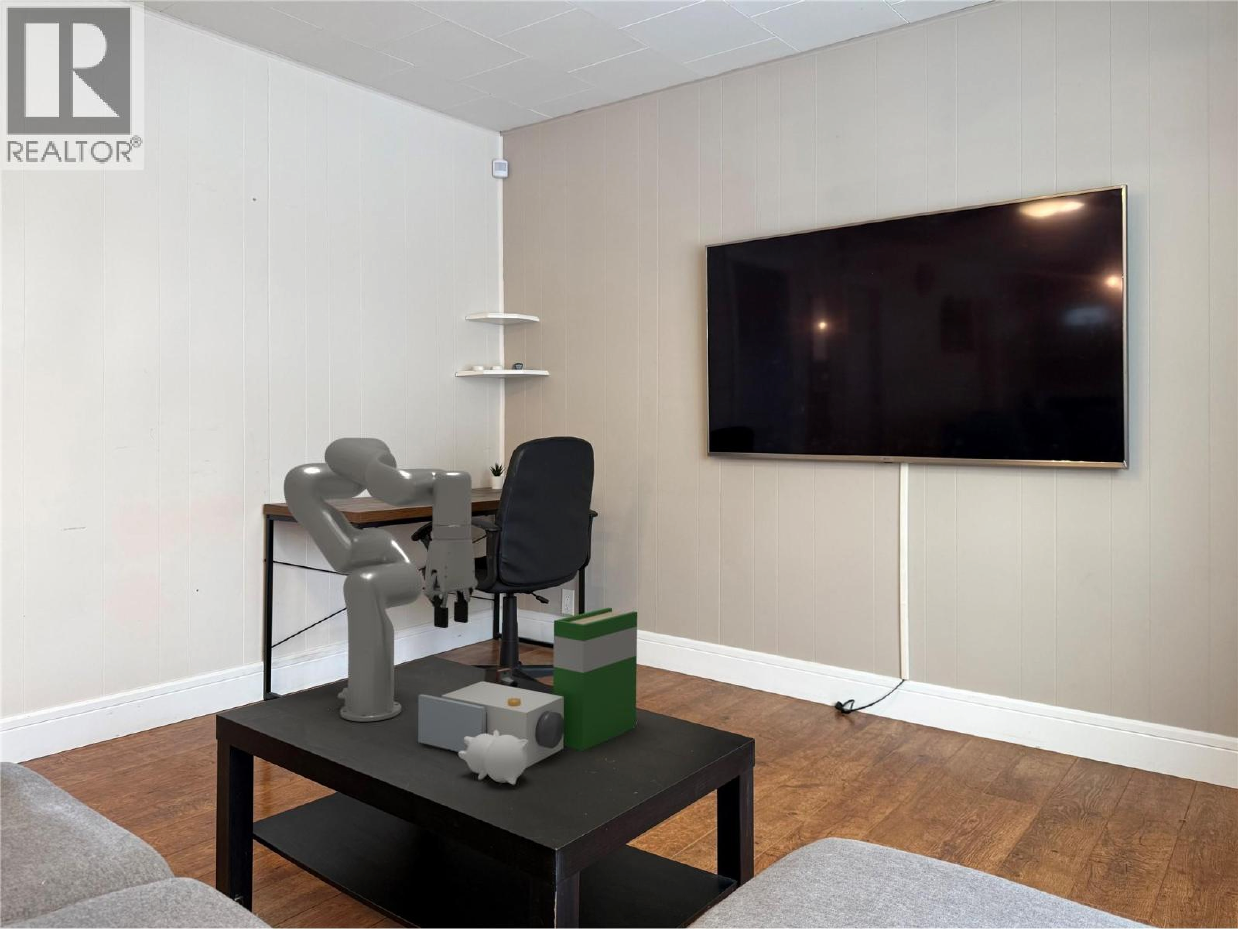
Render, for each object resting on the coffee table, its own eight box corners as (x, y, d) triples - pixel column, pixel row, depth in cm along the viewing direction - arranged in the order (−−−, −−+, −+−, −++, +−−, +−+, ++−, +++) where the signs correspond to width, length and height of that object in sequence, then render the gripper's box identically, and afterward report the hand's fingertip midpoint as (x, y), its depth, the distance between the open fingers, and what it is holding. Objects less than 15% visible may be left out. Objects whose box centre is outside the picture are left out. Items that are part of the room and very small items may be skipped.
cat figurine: (466, 719, 156) (518, 730, 150) (500, 737, 164) (551, 748, 157) (447, 769, 152) (500, 782, 146) (484, 785, 160) (535, 798, 153)
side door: (418, 741, 170) (418, 695, 170) (427, 738, 172) (427, 692, 172) (483, 757, 162) (483, 709, 161) (492, 753, 164) (492, 705, 164)
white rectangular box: (441, 747, 169) (441, 691, 169) (481, 730, 179) (481, 677, 179) (534, 770, 158) (535, 710, 157) (571, 750, 168) (572, 694, 168)
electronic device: (506, 708, 194) (507, 674, 194) (481, 699, 201) (481, 666, 201) (522, 704, 197) (523, 671, 197) (497, 696, 204) (497, 663, 204)
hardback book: (607, 720, 186) (608, 607, 186) (635, 727, 182) (637, 612, 181) (552, 743, 172) (553, 620, 172) (582, 751, 168) (583, 625, 167)
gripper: (465, 528, 184) (464, 615, 184) (407, 535, 169) (406, 630, 170) (494, 531, 180) (493, 619, 180) (436, 538, 165) (435, 634, 166)
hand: (451, 623), depth 175 cm, fingers open, 5 cm apart
